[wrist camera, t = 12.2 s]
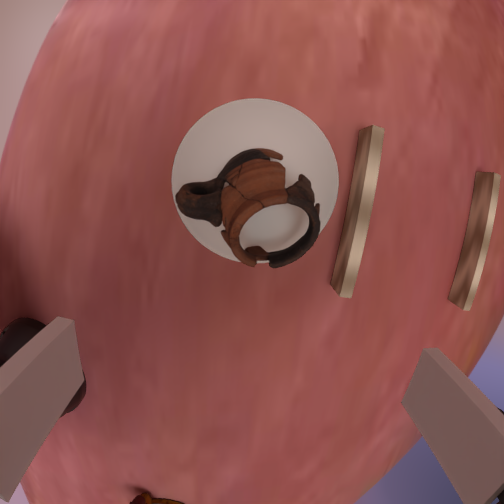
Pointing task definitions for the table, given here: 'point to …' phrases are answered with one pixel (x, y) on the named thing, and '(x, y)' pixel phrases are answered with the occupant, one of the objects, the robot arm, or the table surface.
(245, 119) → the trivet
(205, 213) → the pottery mug
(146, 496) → the mug
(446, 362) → the robot arm
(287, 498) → the table surface
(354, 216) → the pair of beige bars
